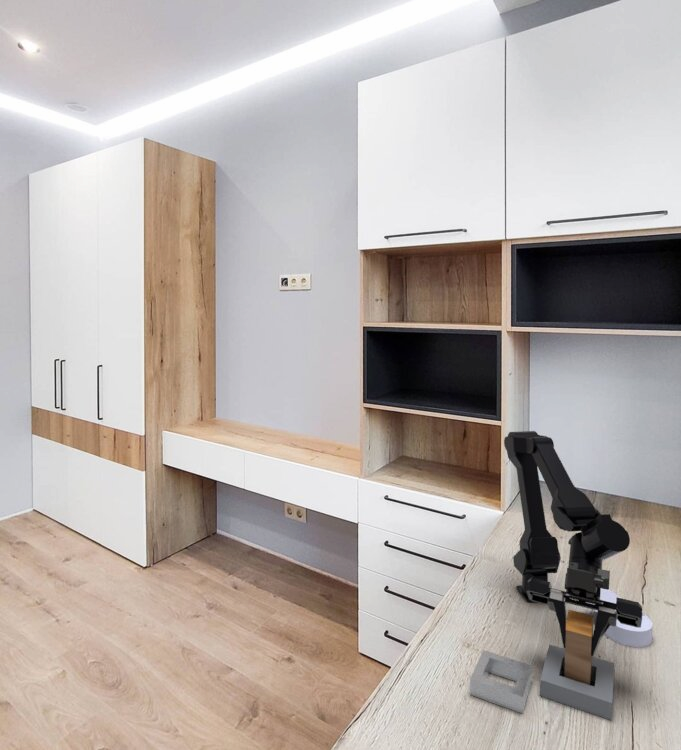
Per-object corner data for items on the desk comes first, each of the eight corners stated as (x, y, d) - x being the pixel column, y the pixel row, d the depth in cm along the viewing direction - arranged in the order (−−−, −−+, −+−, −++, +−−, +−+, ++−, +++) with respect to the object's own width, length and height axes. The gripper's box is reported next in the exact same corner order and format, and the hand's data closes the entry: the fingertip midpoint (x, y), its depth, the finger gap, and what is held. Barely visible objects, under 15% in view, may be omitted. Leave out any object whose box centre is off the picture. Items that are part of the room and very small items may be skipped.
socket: (549, 658, 96) (549, 644, 95) (613, 678, 90) (614, 663, 90) (539, 695, 86) (540, 679, 86) (611, 720, 81) (612, 703, 80)
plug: (566, 671, 91) (568, 609, 90) (591, 678, 89) (593, 615, 88) (564, 685, 88) (565, 621, 86) (589, 693, 85) (591, 628, 84)
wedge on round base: (579, 613, 111) (624, 650, 98) (580, 584, 110) (625, 618, 97) (615, 607, 112) (662, 643, 100) (616, 579, 112) (664, 612, 99)
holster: (483, 664, 94) (483, 649, 94) (531, 680, 90) (532, 665, 90) (470, 694, 87) (470, 678, 87) (522, 713, 82) (522, 696, 82)
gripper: (529, 537, 94) (516, 622, 86) (644, 559, 85) (642, 657, 76) (535, 559, 101) (524, 640, 93) (641, 582, 92) (639, 673, 84)
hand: (578, 651), depth 86 cm, fingers closed on plug, 4 cm apart
